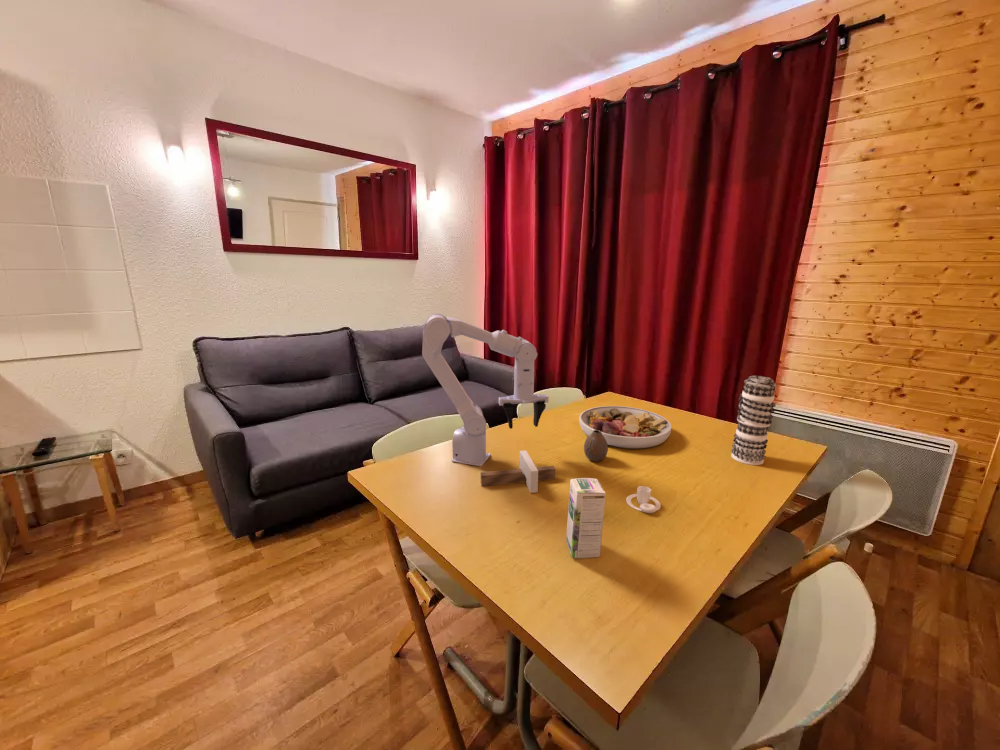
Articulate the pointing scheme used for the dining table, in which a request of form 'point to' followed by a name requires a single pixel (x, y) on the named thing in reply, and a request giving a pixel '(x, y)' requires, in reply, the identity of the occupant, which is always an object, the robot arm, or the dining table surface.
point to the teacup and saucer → (644, 500)
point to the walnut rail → (514, 476)
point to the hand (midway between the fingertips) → (523, 426)
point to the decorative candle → (753, 420)
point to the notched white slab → (529, 471)
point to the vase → (596, 446)
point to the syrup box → (585, 517)
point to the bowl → (626, 426)
